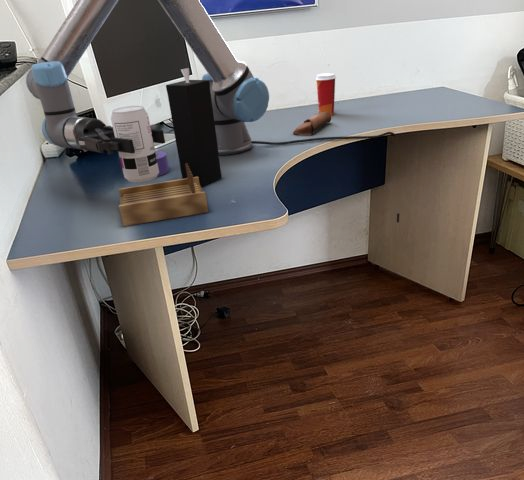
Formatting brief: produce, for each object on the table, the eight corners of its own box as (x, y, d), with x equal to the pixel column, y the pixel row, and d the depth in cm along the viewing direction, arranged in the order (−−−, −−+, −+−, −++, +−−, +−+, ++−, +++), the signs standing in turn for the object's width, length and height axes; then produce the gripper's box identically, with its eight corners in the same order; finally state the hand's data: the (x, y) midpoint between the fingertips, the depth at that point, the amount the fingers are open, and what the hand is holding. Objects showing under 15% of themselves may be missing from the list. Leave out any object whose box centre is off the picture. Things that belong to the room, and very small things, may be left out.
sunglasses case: (309, 121, 194) (317, 104, 190) (325, 131, 194) (334, 115, 189) (291, 133, 181) (299, 115, 176) (308, 144, 181) (316, 127, 176)
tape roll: (176, 167, 160) (173, 150, 157) (155, 179, 151) (152, 161, 149) (143, 166, 164) (140, 150, 162) (122, 178, 156) (117, 161, 153)
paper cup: (326, 111, 209) (325, 72, 201) (340, 113, 203) (340, 73, 196) (312, 115, 205) (310, 75, 197) (326, 117, 200) (325, 76, 192)
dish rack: (201, 194, 136) (195, 160, 131) (208, 212, 124) (202, 174, 120) (123, 207, 133) (114, 172, 128) (123, 226, 122) (114, 188, 117)
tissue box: (202, 175, 151) (185, 65, 135) (222, 178, 146) (207, 65, 130) (182, 183, 146) (162, 70, 130) (202, 187, 141) (184, 70, 126)
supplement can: (118, 179, 124) (102, 111, 115) (147, 170, 128) (133, 104, 120) (137, 185, 119) (121, 114, 110) (166, 175, 123) (153, 106, 115)
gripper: (125, 140, 137) (184, 147, 125) (55, 161, 125) (114, 171, 112) (118, 109, 133) (179, 113, 120) (45, 127, 120) (105, 134, 108)
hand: (147, 141), depth 116 cm, fingers closed on supplement can, 8 cm apart
